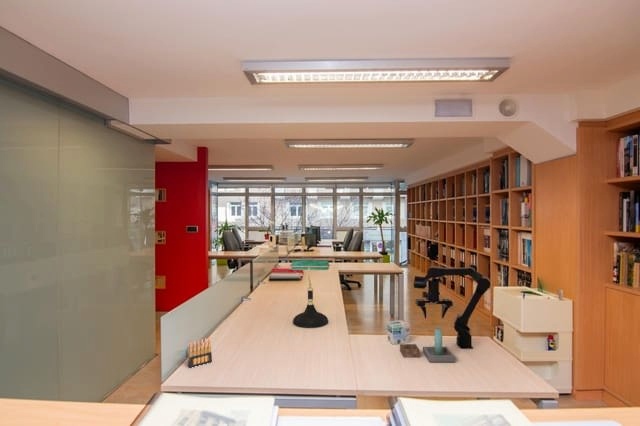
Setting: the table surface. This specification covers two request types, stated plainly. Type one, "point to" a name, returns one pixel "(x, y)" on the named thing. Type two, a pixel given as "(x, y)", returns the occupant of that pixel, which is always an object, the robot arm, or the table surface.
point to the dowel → (438, 342)
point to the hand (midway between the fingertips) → (433, 318)
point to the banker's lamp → (310, 296)
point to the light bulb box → (398, 332)
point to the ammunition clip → (199, 353)
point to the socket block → (409, 350)
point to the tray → (445, 358)
